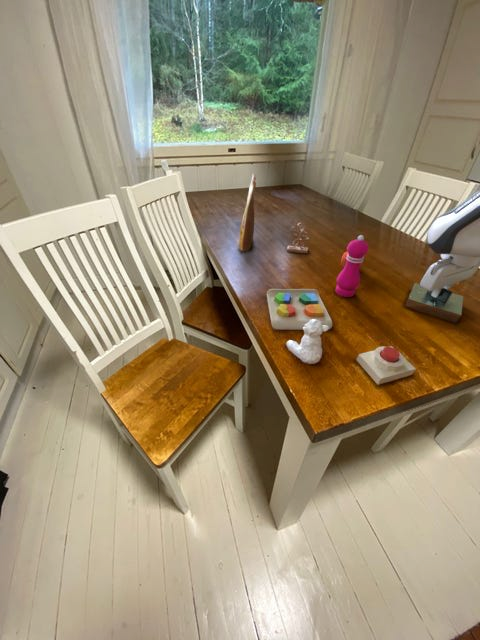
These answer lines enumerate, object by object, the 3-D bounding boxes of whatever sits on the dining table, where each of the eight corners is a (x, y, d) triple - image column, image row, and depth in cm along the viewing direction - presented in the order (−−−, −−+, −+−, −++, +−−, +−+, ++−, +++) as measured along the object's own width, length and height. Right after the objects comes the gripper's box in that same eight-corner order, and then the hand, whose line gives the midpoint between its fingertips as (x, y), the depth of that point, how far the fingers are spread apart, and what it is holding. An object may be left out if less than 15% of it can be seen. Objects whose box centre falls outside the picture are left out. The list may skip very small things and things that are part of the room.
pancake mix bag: (257, 237, 130) (260, 171, 113) (251, 254, 115) (255, 182, 98) (243, 236, 131) (244, 170, 113) (236, 253, 116) (236, 181, 99)
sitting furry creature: (318, 341, 74) (328, 305, 66) (331, 365, 67) (344, 328, 60) (285, 345, 73) (290, 308, 65) (295, 369, 66) (302, 332, 58)
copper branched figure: (307, 249, 120) (312, 222, 112) (307, 253, 117) (312, 225, 109) (287, 247, 121) (290, 220, 114) (286, 251, 118) (290, 223, 111)
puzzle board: (317, 294, 92) (319, 285, 90) (332, 330, 77) (335, 321, 75) (266, 293, 92) (266, 284, 90) (271, 330, 77) (272, 320, 75)
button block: (388, 351, 71) (394, 340, 68) (412, 374, 65) (419, 363, 63) (356, 360, 69) (360, 349, 66) (377, 384, 63) (383, 373, 60)
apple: (361, 274, 103) (368, 254, 98) (339, 272, 104) (345, 252, 99) (359, 264, 109) (365, 245, 104) (338, 262, 110) (343, 244, 105)
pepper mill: (329, 289, 94) (343, 232, 82) (345, 284, 97) (362, 229, 84) (343, 300, 89) (361, 241, 77) (360, 295, 92) (380, 237, 79)
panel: (458, 303, 88) (463, 295, 86) (456, 322, 81) (461, 314, 79) (411, 290, 95) (415, 282, 93) (404, 306, 87) (408, 298, 85)
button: (389, 350, 66) (392, 345, 65) (400, 361, 64) (403, 355, 63) (377, 353, 65) (379, 348, 64) (387, 364, 63) (390, 359, 62)
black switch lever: (447, 301, 84) (453, 291, 82) (443, 303, 83) (449, 292, 81) (429, 292, 88) (434, 282, 86) (425, 293, 87) (431, 283, 85)
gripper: (448, 265, 71) (425, 308, 79) (493, 252, 78) (467, 292, 86) (426, 256, 75) (406, 297, 84) (471, 243, 82) (448, 283, 91)
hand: (437, 295), depth 85 cm, fingers closed on black switch lever, 2 cm apart
